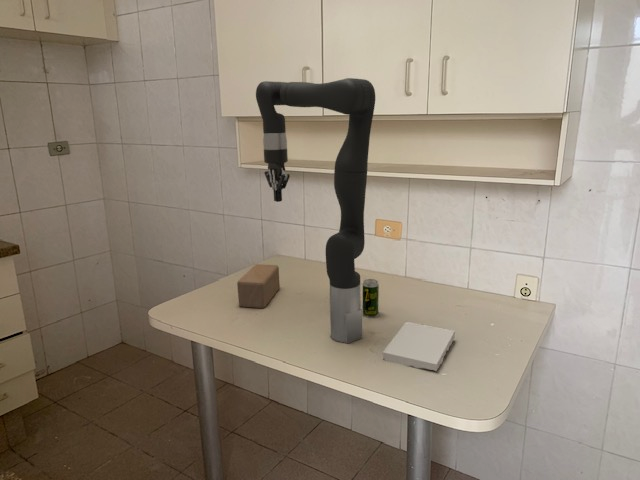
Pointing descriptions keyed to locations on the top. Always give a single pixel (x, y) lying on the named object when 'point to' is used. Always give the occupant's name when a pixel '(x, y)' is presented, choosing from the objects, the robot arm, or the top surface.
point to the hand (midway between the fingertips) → (278, 201)
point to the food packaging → (419, 346)
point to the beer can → (370, 298)
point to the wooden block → (258, 286)
